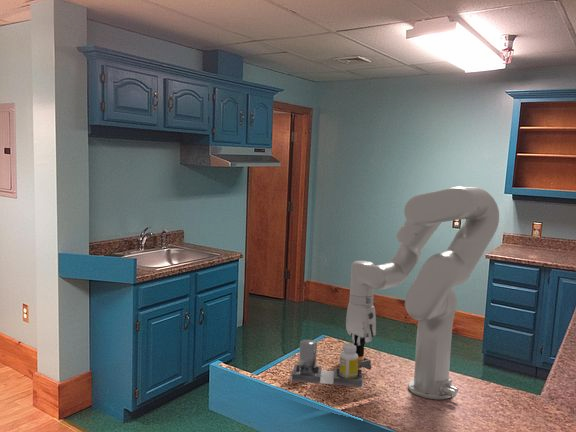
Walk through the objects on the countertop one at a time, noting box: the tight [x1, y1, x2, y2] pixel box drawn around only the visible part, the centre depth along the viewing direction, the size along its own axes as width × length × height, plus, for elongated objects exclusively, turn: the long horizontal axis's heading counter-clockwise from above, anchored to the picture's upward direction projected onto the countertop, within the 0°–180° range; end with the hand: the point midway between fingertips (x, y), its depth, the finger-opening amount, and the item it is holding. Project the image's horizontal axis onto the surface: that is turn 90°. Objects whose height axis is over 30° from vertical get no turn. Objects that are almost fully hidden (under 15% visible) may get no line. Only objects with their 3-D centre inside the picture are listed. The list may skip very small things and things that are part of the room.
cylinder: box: [298, 339, 318, 375], centre depth 146 cm, size 5×5×10 cm
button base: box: [358, 356, 372, 370], centre depth 159 cm, size 6×6×3 cm
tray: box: [290, 363, 365, 388], centre depth 146 cm, size 21×10×3 cm, turn 84°
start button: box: [358, 355, 365, 362], centre depth 159 cm, size 4×4×2 cm
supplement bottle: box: [338, 343, 359, 379], centre depth 145 cm, size 5×5×10 cm
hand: (358, 355), depth 159 cm, fingers closed
